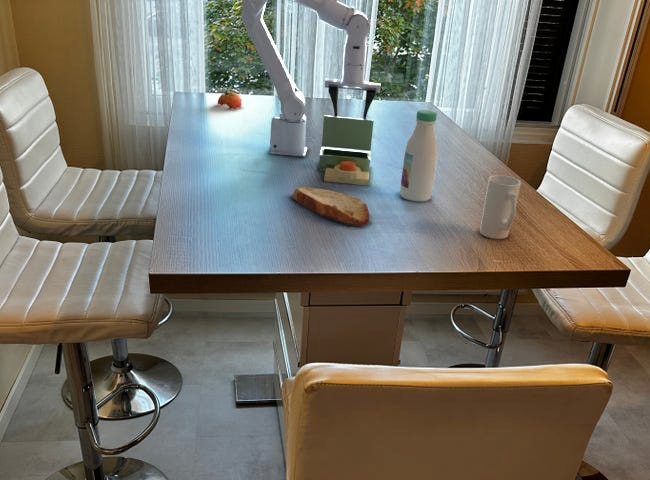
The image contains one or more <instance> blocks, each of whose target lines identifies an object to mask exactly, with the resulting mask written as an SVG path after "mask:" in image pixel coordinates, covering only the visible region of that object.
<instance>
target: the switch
mask: <svg viewBox="0 0 650 480" xmlns="http://www.w3.org/2000/svg"><path fill="white" fill-rule="evenodd" d="M340 169H341V170H344V171H355V163H354V162H351V161H343V162H341V168H340Z"/></svg>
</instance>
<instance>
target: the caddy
mask: <svg viewBox="0 0 650 480" xmlns="http://www.w3.org/2000/svg"><path fill="white" fill-rule="evenodd" d="M318 159H319V161H318V162H319V163H318V171H319V172H320V171H321V172H326V168H332V169H334V168H335V166H337V165H341V162H343V161H351V162H354V163H355V166H357V167H359V168H360V169H361V171H362V172H369V173H370V165H371V151H365V150H355V149H345V148H335V147H325V146H321V148H320V153H319V158H318Z"/></svg>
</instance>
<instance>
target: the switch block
mask: <svg viewBox="0 0 650 480" xmlns="http://www.w3.org/2000/svg"><path fill="white" fill-rule="evenodd" d="M340 168H341V165H337V166H335V168H334V169H332V168H326V171H324V172H325V173H324V179H323V182H329V183H330V182H331V183H340V184H341V183H342V184H351V185H361V186H369V184H370V183H369V182H370V171H369V172H362V171H361V169H360V168H359V167H357V166H355V171H344V170H341V169H340Z"/></svg>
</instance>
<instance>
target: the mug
mask: <svg viewBox="0 0 650 480" xmlns="http://www.w3.org/2000/svg"><path fill="white" fill-rule="evenodd" d="M521 184H522V182H521V180H519V179H518V178H516V177H513V176H509V175H503V174H494V175H490V176H488V181H487V186H486V192H485V198H484V202H483V208H482V214H481V220H480V226H479V234H481V236H484V237H486V238H489V239H493V240H503V239H506V238H508V236H509V233H510V230H511V227H512V225H513V222H514V220H515V217H516V212H517V205H518V204H517V203H518V196H519V194H520V188H521Z"/></svg>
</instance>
